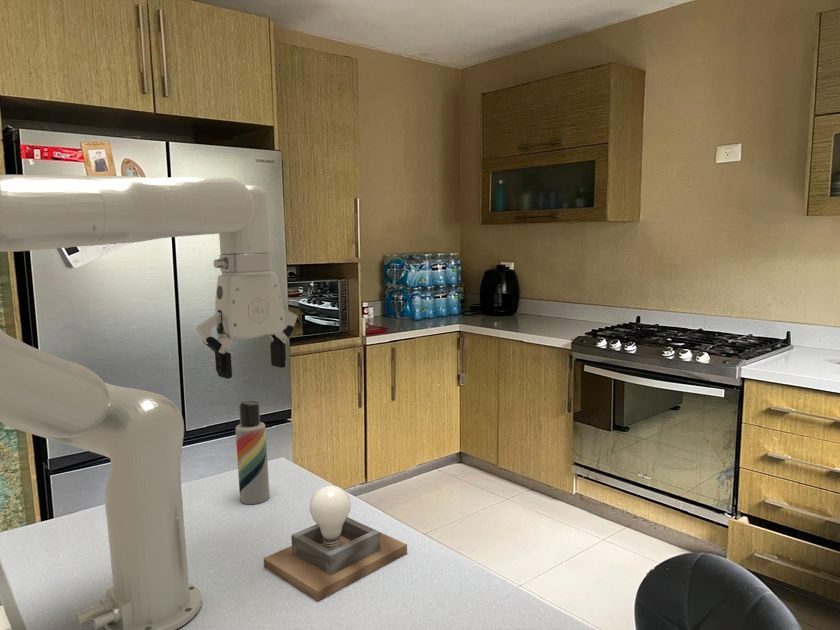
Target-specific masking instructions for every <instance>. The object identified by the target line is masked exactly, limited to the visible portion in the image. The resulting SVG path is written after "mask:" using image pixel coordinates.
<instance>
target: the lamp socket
mask: <svg viewBox="0 0 840 630" xmlns="http://www.w3.org/2000/svg"><path fill="white" fill-rule="evenodd" d="M290 537H291V545H290V546H287V547H286V548H284V549H280V550H278V551H277V552H274V553H273V554H269V555H268V556H265V557H263V567H264V568H265V569H266V570H268V571H270V572H271V573H273V575H276V576H277V577H279V578H280V579H282V580H284V581H286V582H287V583H289V584H291V585H292V586H293V587H294V588H296V589H298V590H299V591H300V592H302V593H303V594H306V595H307V596H309V597H310V598H312V599H313V600H315V601H316V602H320V601H321V600H323V599H325V598H327V597H329V596H331V595H333V594H334V593H336V592H339V591H340V590H342V589H344V588H346V587H347V586H349V585H351V584H353V583H355V582H357V581H359V580H360V579H362V578H364V577H366V576H368V575H369V574H371V573H373V572H375V571H378V570H380V569H381V568H382V567H385V566H386V565H388V564H390V563H391V562H394V561H396V560H397V559H399V558H401V557H403V556H405V555H406V554H408V544H407V543H405V542H402V541H401V540H398V539H396V538H394V537H392V536H389V535H387V534H386V533H383V532H380V531H378V530H376V529H374V528H373V527H370V526H367V525H365V524H363V523H361V522H360V521H357V520H354V519H352V518H351V517H349V516H348V517H347V519H346V520H345V522H344V524H343V526H342V532H341V534H340V543H341V544H340V545H341V546H340V547H338V548H336V549H334V550H330V549H328V548H326V547H324V542H323V541H324V540H323V536H322V534H321V530H320V527H319V526H318V525H317V523H315V524H314V525H311V526H309V527H306V528H304V529H302V530H300V531H297V532H295V533H292V534H291V536H290Z"/></svg>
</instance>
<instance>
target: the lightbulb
mask: <svg viewBox="0 0 840 630" xmlns="http://www.w3.org/2000/svg"><path fill="white" fill-rule="evenodd" d="M350 511H351V501H350V497H349V495H348V493H347V492H346V491H345V490H344V489H342V488H341V487H339V486H336V485H325V486H322V487H321V488H319V489H318V490H317V491H315V492H314V494H313V495H312V497H311V500H310V503H309V512H310V515H311V518H312V519H313V521H314V522H315V524H317V525H318V526H319V527H320V530H321V534H322V536H323V540H324V541H323V542H324V547H326V548H328V549H330V550H334V549H336V548H338V547H340V546H341V545H340V544H341V543H340V534H341V532H342V526H343V524H344V522H345V520H346V519H347V517H348V518H349V514H350V513H351V512H350Z"/></svg>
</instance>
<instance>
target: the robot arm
mask: <svg viewBox="0 0 840 630" xmlns="http://www.w3.org/2000/svg"><path fill="white" fill-rule="evenodd" d="M269 224H270V223H269V209H268V195H267V192H266V190H265V189H264V187H262V186H259V185H256V184H255V185H254V184H244V183H243V182H241V181H239V180H237V179H234V178H230V177H153V176H152V177H147V176H135V175H134V176H132V175H131V176H129V175H127V176H126V175H64V174H63V175H61V174H60V175H59V174H58V175H57V174H55V175H54V174H53V175H52V174H47V175H46V174H0V252H2V253H3V252H5V253H6V252H9V253H11V252H29V251H30V252H31V251H43V250H53V249H55V250H56V249H62V248H65V249H66V248H74V247H75V248H78V247H79V248H80V247H88V246H89V247H90V246H91V247H92V246H104V245H107V246H108V245H117V244H131V243H132V244H133V243H140V242H147V241H152V240H153V241H154V240H158V239H159V240H160V239H166V238H177V237H190V236H191V237H192V236H201V235H202V236H203V235H204V236H205V235H215V234H218V236H219V250H220V251H219V252H220V253H219V258H217V259H214V260H213V267H214V268H215V269H219V270H220V272H221V274H220V275H219V274H218V276H217V281H216V289H215V290H216V291H215V305H214V308H215V309H214V314H213V315H211V316H210V317H209V318H207V319H206V320H204V321H203V322H201V323H200V324H198V325H197V326H196V332H197V333H198V335H199V337H200V338H201V339H202V341H203V344H204V345H206V346H207V347H208V348H209V349H210V350H211V351H212V352H213V353H214V359H215V371H216V373H217V375H218V377H220V378H223V379H227V380H229V379H231V378H232V377H233V369H232V367H233V366H232V355H231V352H229V348H230V347H231V345H232V344H233V342H234V340H237V341H238V340H239V341H241V340H242V341H243V340H248V339H255V338H262V337H263V338H264V337H267V336H268V337H270V338H271V340H272V341H271V342H270V345H269V346H270V347H269V348H270V363H271V366H272V367H276V368H279V369H280V368H281V369H283V368H286V360H287V355H286V344H287V343H288V342H289V337H290V336H291V335H292V333H293V331H294V326H295V324H296V322H297V319H298V315H297V314H295V313H294V312H292V311H290V310H287V309H285V308H284V301H283V296H282V290H281V287H280V282H279V279H278V276H277V273H276V272H272V264H271V262H272V261H271V248H270V247H271V246H270V244H271V243H270V230H269V229H270V228H269V227H270V225H269ZM214 328H215V329H216V334H217V337H216V338H215V337H214V336H213V334H212V329H214ZM0 423H1V424H3V425H5V426H7V427H9V428H12V429H15V430H18V431H21V432H24V433H28V434H31V435H34V436H38V437H41V438H45V439H47V440H51V441H54V442H57V443H61V444H64V445H68V446H71V447H74V448H77V449H81V450H84V451H87V452H91V453H94V454H97V455H101V456H104V457H106V458H109V460H110V469H109V472H108V476H107V480H106V483H105V489H104V505H105V515H106V522H107V533H108V544H109V555H110V565H111V568H110V569H111V577H112V587H110V588H108V589H106V591H105V592H106V598H103V599H100V601H99V603H98V604H96V605H94V606H93V605H92V606H89V607H86V608H84V609H82V610H79V611H77V612H75V614H74V619H75V623H76V626H77V628H82V627H84V626H86V625H90V624H92V626H93V628H94V630H98V629H100V628H104V630H177V629H179V628H181V627H183V626H184V625H185V624H188V622H189V621H191V620H192V619H193V618H195V615H197V613H198V612H199V611H200V609H201V607H202V603H203V601H202V592H201V590H200V589H199V588H198V586H196V585H195V584H193V583H191V582H189V571H188V570H189V568H188V558H187V557H188V555H187V546H186V545H187V543H186V531H185V520H184V519H185V518H184V505H183V494H182V493H183V492H182V481H181V480H182V479H181V475H182V474H181V464H182V463H181V462H182V451H183V444H184V435H185V424H184V418H183V415H182V413H181V411H180V408H178V406H177V405H176V404H175V403H174V402H173V401H172V400H171V399H169V398H167V397H166V396H164V395H162V394H159V393H156V392H152V391H149V390H148V391H147V390H144V389H137V388H132V387H126V386H125V387H123V386H119V385H115V384H110V383H107V382H104V381H103V379H102V378H101V377H100V376H99V375H98V374H96V373H95V372H94V371H93V370H91V369H90V368H88V367H86V366H84V365H82V364H80V363H77V362H74V361H70V360H66V359H64V358H62V357H61V358H60V357H58V356H56V355H53V354H51V353H49V352H46V351H43V350H41V349H38V348H36V347H34V346H31V345H29V344H27V343H25V342H24V341H21V340H19V339H17V338H16V337H12V336H11V335H9V334H7V333H6V332H4V330H2V329H1V328H0Z"/></svg>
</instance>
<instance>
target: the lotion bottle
mask: <svg viewBox="0 0 840 630" xmlns="http://www.w3.org/2000/svg"><path fill="white" fill-rule="evenodd" d="M238 408H239V424H237V425H236V426H235V443H236V445H235V446H236V456H237V458H236V460H237V473H238V487H239V490H238V491H239V499H240V502H241V503H242V504H245V505H259V504H261V503H265V502H266V501H268V500H269V498H270V482H269V480H270V479H269V465H268V461H269V460H268V448H267V446H268V445H267V431H266V430H267V429H266V424H265V423H264V422H261V415H260V402H258V401H255V400H241V401H240V404H239V405H238Z"/></svg>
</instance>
